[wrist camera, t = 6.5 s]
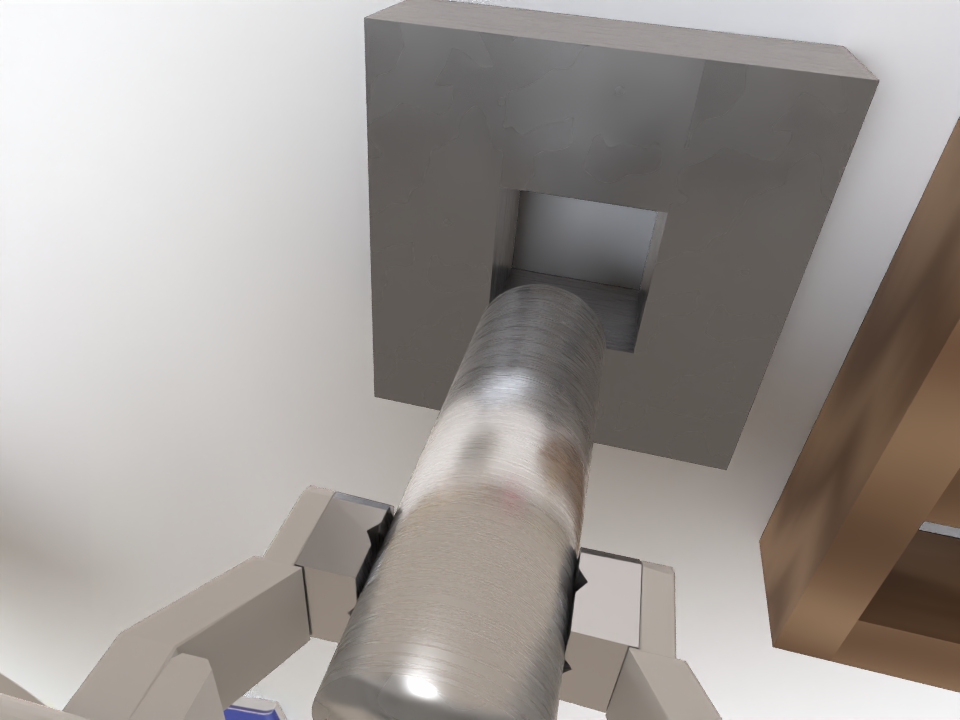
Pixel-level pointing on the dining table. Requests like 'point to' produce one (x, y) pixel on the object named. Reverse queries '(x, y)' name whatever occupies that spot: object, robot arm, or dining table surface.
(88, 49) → the dining table surface
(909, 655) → the rack
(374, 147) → the socket block
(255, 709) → the hard drive
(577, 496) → the steel peg
